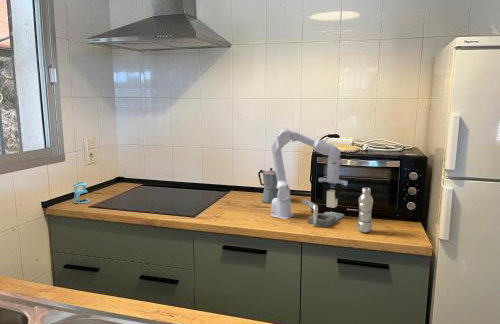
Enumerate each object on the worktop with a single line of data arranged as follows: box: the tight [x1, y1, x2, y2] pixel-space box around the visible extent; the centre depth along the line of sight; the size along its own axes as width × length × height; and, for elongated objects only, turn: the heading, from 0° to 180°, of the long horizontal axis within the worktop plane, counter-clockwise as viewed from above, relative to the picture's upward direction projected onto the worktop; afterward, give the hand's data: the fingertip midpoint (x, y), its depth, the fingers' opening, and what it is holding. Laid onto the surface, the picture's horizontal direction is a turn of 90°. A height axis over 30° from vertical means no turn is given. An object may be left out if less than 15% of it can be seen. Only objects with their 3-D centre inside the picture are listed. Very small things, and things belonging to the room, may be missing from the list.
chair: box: [72, 181, 91, 204], centre depth 218 cm, size 8×8×12 cm
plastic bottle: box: [356, 187, 374, 233], centre depth 169 cm, size 6×7×20 cm
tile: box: [322, 211, 345, 222], centre depth 190 cm, size 9×9×2 cm
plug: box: [325, 189, 338, 209], centre depth 188 cm, size 4×4×8 cm
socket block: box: [307, 212, 337, 228], centre depth 182 cm, size 10×10×3 cm
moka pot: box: [257, 167, 278, 204], centre depth 219 cm, size 10×15×20 cm, turn 58°
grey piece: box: [301, 198, 319, 228], centre depth 181 cm, size 13×2×10 cm, turn 19°
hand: (332, 197), depth 189 cm, fingers closed on plug, 4 cm apart
